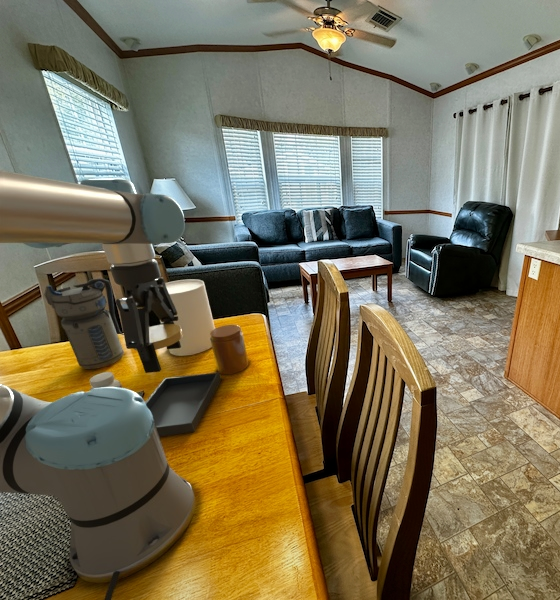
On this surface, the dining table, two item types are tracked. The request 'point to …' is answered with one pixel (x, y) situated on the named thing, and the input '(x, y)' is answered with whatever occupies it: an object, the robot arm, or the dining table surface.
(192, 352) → the canister
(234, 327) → the jar
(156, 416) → the tray
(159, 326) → the lid
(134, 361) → the dining table surface
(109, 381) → the pill bottle
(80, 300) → the beverage bottle
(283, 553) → the dining table surface
